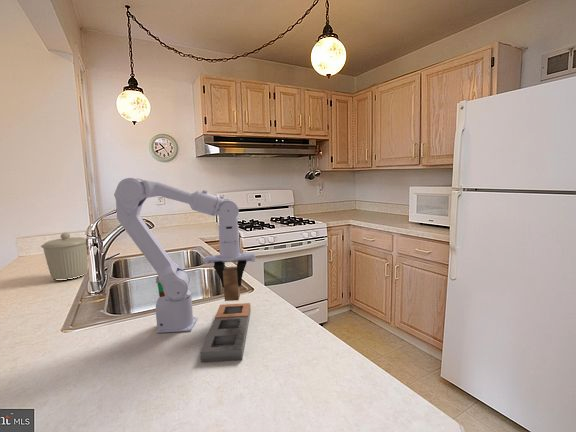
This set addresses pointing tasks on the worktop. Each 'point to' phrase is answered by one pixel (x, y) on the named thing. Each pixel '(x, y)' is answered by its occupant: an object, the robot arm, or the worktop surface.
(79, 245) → the canister
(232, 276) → the peg
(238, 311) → the rail
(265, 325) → the worktop surface
